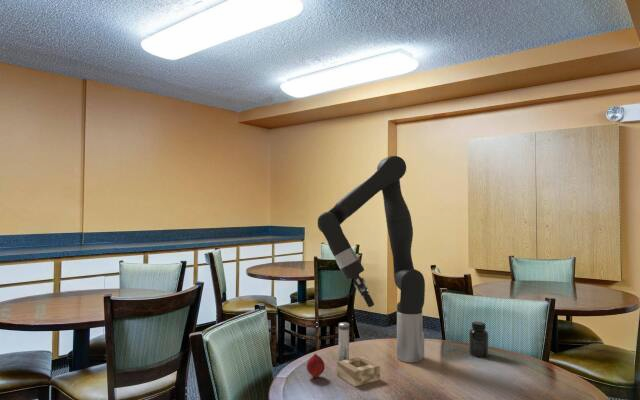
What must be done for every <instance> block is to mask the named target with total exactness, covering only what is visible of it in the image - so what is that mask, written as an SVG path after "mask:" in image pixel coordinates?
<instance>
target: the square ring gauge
mask: <svg viewBox="0 0 640 400" xmlns="http://www.w3.org/2000/svg"><path fill="white" fill-rule="evenodd" d="M336 375H337V376H338V377H339V378H341V379H342V380H344V381H345V382H347V383H348V384H350V385H352V386H354V387H357V386H362V385H365V384H370V383H373V382H374V383H375V382H377V381H381V365H380V364H377V363H376V362H373V361H371V360H369V359H367V358H366V357H363V356H358V357H353V358H349V359H347V360H343V361H339V360H337V362H336Z"/></svg>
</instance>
